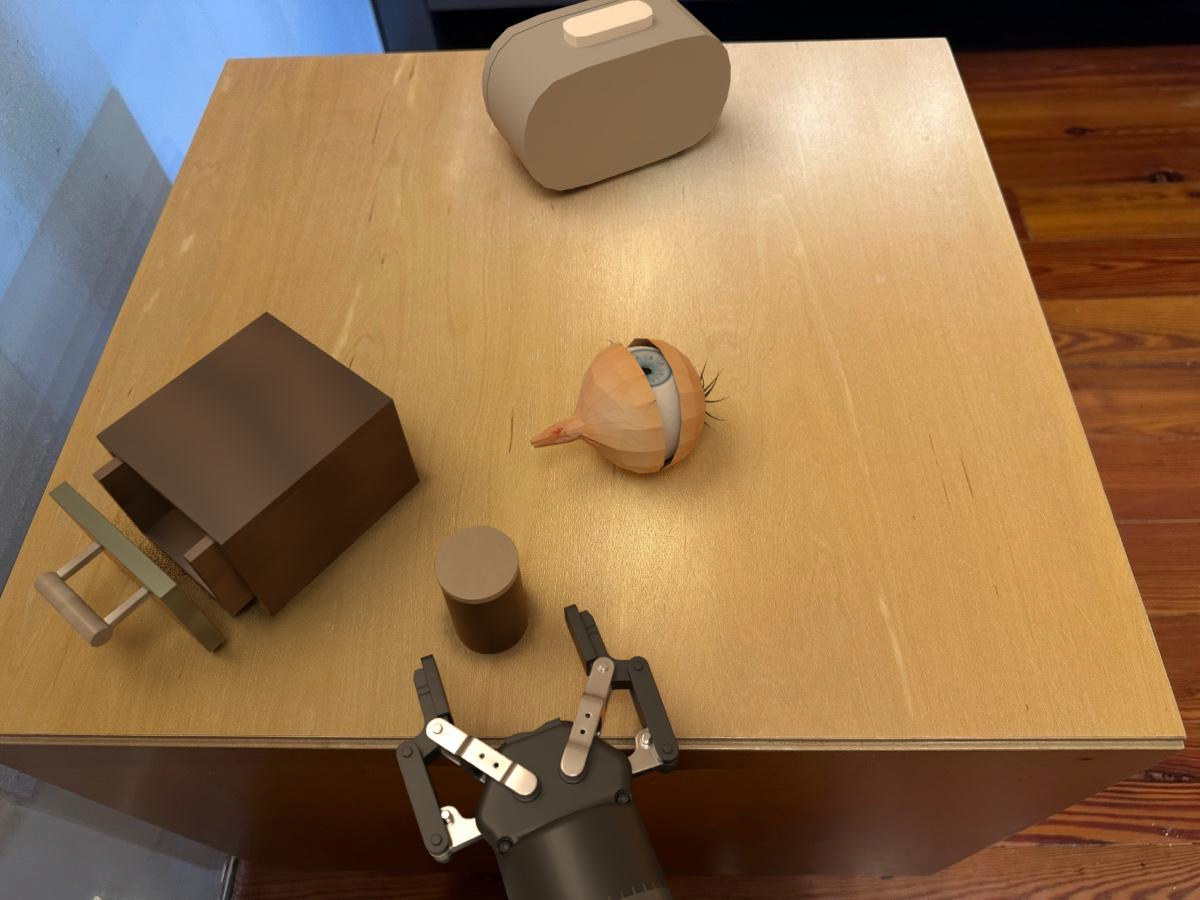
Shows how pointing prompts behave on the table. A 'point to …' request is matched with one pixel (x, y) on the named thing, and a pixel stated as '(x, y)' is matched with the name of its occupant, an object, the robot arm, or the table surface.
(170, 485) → the cabinet
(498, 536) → the tin
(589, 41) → the alarm clock
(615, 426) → the sculpture
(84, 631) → the drawer
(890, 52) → the table surface
